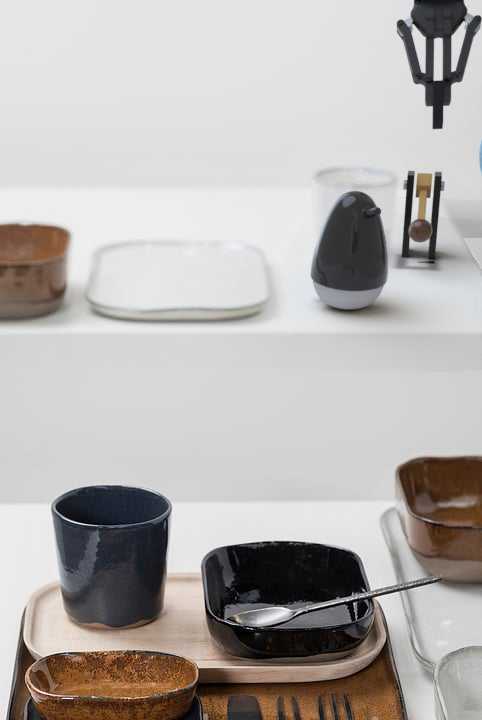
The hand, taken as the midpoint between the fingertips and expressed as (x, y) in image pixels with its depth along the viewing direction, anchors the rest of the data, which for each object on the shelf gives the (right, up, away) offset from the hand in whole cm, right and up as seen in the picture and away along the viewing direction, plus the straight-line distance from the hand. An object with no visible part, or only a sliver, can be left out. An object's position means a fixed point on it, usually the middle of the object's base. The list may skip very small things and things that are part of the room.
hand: (437, 125), depth 164 cm
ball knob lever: (-3, -14, -2) cm, 15 cm away
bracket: (-2, -20, +4) cm, 21 cm away
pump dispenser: (-16, -29, -18) cm, 38 cm away
